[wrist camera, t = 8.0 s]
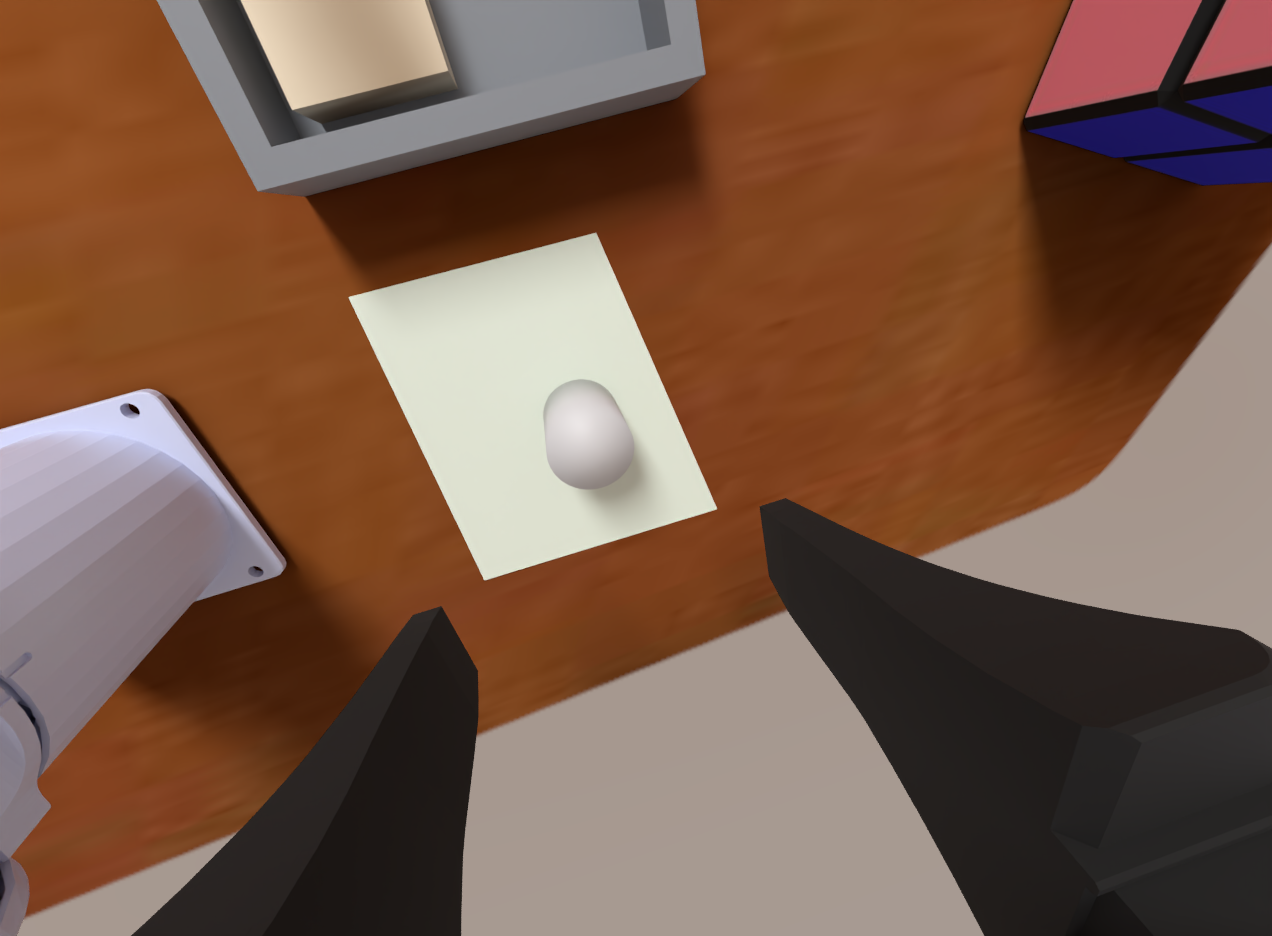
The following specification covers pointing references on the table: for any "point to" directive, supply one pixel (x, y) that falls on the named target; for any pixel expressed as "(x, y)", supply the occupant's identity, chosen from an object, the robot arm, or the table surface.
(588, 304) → the lid
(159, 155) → the table surface
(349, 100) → the beech block
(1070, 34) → the puzzle cube
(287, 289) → the table surface
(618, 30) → the box
